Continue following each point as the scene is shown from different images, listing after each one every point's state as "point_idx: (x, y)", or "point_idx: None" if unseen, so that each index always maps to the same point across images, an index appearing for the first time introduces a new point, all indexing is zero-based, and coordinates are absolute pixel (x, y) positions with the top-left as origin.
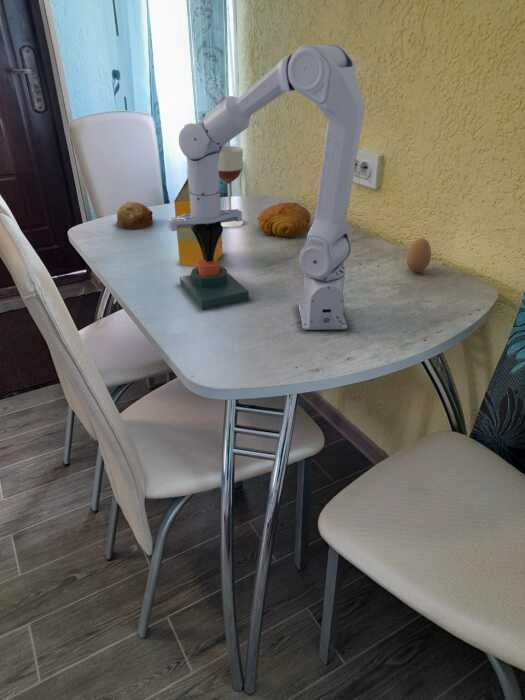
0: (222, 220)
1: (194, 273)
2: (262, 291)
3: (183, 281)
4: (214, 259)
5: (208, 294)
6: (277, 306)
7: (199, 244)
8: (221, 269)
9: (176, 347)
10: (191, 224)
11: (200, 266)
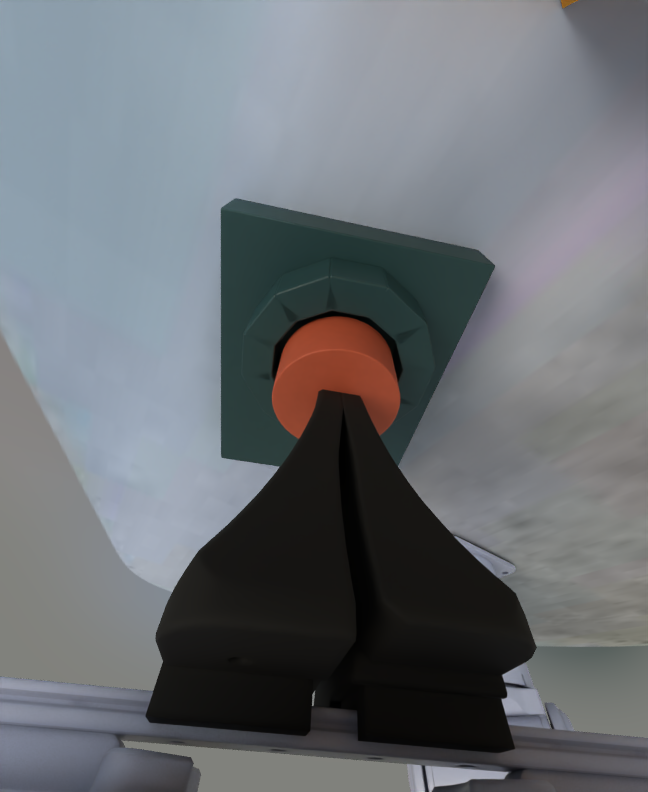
0: (514, 771)
1: (257, 351)
2: (469, 439)
3: (221, 276)
4: (391, 391)
5: (263, 438)
6: None
7: (293, 450)
8: (401, 388)
9: (117, 512)
10: (120, 739)
11: (274, 409)
